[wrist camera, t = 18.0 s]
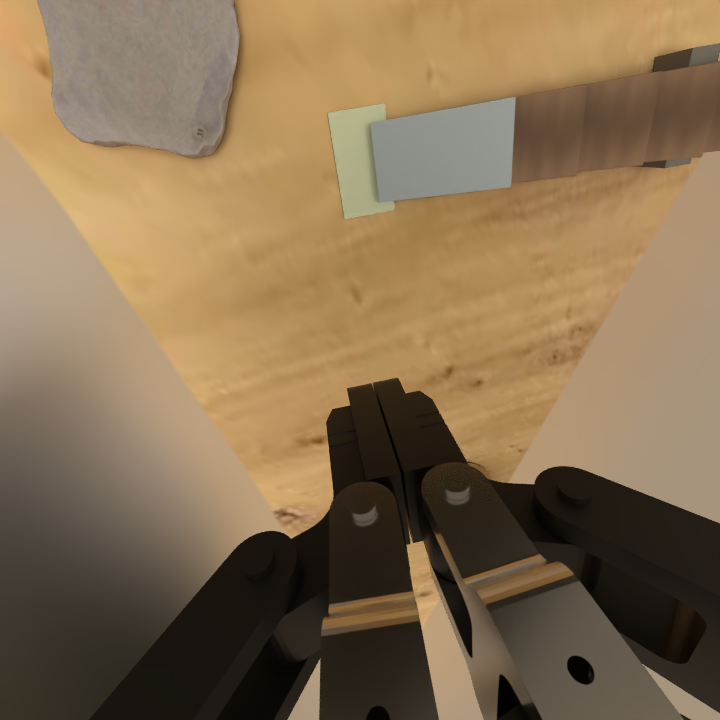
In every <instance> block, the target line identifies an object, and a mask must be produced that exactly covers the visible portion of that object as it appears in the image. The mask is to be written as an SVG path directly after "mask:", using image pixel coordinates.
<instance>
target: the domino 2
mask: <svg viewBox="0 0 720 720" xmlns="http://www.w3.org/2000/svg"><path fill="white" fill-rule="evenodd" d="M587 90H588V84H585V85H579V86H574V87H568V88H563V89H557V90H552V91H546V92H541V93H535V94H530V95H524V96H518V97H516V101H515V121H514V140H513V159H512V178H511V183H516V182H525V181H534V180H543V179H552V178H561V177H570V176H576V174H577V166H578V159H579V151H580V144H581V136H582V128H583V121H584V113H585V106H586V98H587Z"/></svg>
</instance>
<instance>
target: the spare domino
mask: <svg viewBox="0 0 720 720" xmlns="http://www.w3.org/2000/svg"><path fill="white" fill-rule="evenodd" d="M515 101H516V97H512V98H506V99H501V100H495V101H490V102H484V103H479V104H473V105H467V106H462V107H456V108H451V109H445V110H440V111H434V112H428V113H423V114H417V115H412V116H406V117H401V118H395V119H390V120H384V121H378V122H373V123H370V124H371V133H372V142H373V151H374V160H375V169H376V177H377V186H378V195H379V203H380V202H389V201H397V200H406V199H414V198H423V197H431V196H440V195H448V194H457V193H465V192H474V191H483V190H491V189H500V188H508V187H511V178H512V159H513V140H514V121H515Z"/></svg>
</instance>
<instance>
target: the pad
mask: <svg viewBox="0 0 720 720" xmlns="http://www.w3.org/2000/svg"><path fill="white" fill-rule="evenodd" d="M328 119H329V126H330V132H331V138H332V144H333V150H334V157H335V163H336V169H337V175H338V181H339V188H340V194H341V200H342V206H343V212H344V218H345V219H349V218H355V217H360V216H366V215H371V214H377V213H382V212H388V211H393V210H395V205H394V201H389V202H380V203H379V195H378V186H377V177H376V169H375V160H374V151H373V142H372V133H371V124H370V123H373V122H378V121H384V120H386V110H385V103H383V104H377V105H371V106H365V107H359V108H354V109H348V110H342V111H336V112H330V113H328Z"/></svg>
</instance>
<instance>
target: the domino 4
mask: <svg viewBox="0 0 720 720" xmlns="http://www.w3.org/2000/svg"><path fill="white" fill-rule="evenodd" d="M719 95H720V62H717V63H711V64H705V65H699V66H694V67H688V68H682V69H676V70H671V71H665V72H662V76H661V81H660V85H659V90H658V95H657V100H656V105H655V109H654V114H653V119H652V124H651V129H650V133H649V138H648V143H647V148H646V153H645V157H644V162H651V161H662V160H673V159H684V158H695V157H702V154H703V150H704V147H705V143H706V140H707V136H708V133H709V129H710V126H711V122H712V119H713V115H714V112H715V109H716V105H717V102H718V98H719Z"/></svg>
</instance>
